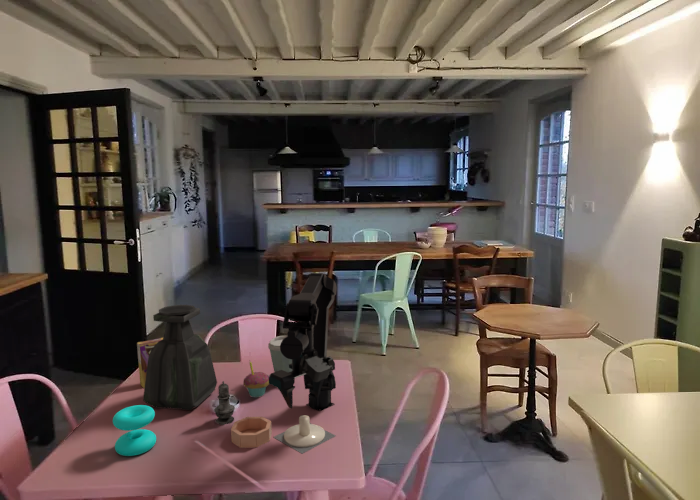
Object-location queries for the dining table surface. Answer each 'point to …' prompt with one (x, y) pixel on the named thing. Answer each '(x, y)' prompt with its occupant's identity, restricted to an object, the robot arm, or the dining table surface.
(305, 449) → the mat
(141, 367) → the candy box
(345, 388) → the dining table surface
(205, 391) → the bottle
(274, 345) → the disposable coffee cup
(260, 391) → the cupcake
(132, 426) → the donuts
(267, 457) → the dining table surface
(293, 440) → the lid
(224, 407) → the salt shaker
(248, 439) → the bowl
